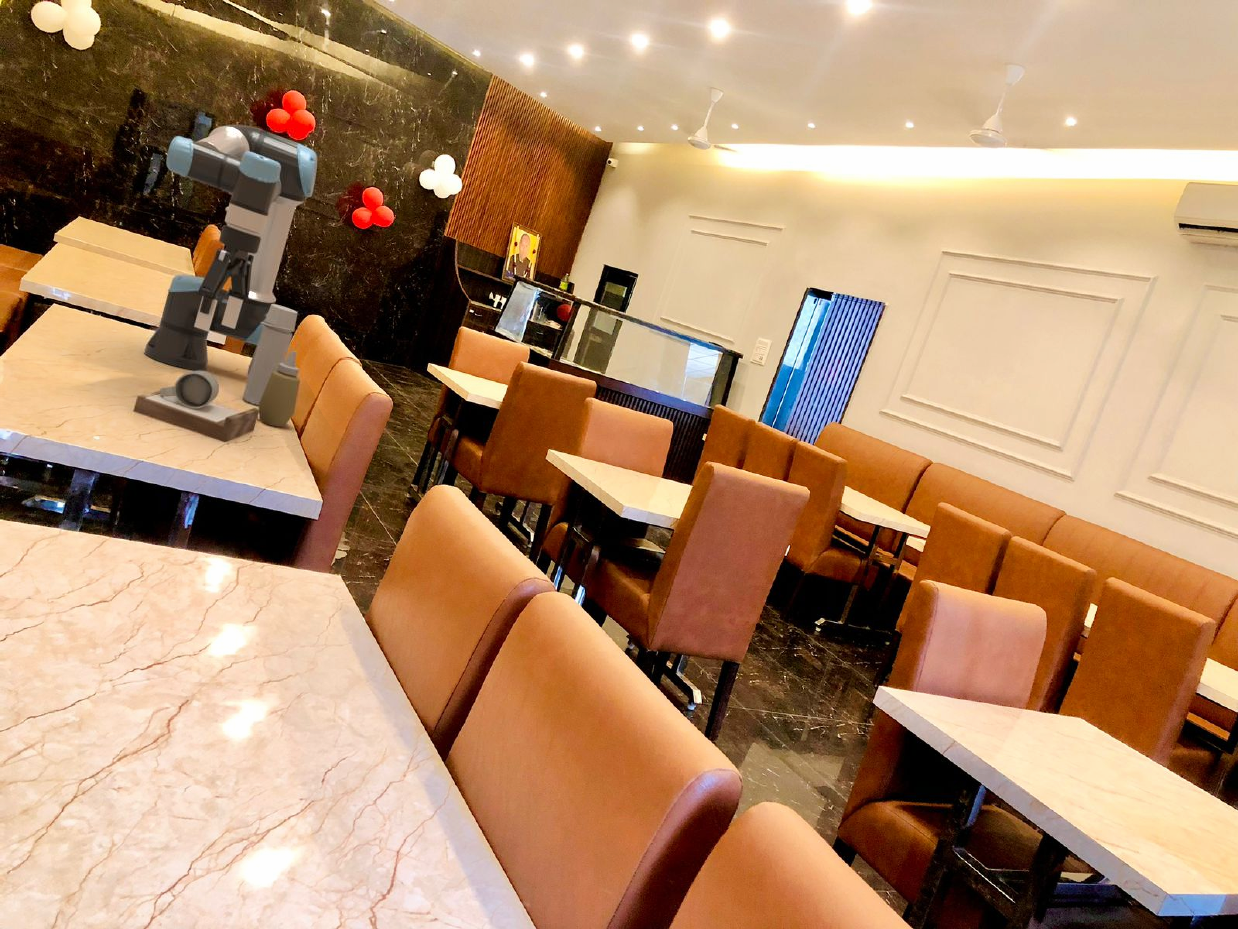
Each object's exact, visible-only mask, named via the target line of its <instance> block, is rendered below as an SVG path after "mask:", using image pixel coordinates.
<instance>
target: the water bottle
mask: <svg viewBox="0 0 1238 929" xmlns="http://www.w3.org/2000/svg"><path fill="white" fill-rule="evenodd" d="M297 318H298V311H296V310H294V309H291V308H289V307H286V306H284V305H283V306H282V305H279V304H276V303H275V304H271V307H270V309H269V312H268V314H267V317H266V319H265V322H261V324H264V326H263V330H262V333H261V336H260V340H259V342H258V345H256V347H255V350H254V353H253V355H252V357H251V360H250V363H249V364H248V369H247V372H246V378H247V382H246V385H245V388H244V391H243V394H242V398H243V400H244V401H245V402H247V403H248V402H249V404H251V405H254V404H256V405H255V406H257V405H259V402H260V400H261V398H262V395H263V393H264V390H265V388H266V386H267V383H268V381H269V378H270V376H271V374H272V372H274V371H278V370H277V368H278V365H279V363H284V362H285V361H286V359H287V357H286V356H287V353H288V351H289V347H290V345H291V340H292V338H293V333H294V332H295V331H296V330H295V329H296V328H295V327H296V323H297V322H296V321H297Z"/></svg>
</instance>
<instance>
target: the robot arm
mask: <svg viewBox="0 0 1238 929" xmlns="http://www.w3.org/2000/svg"><path fill="white" fill-rule="evenodd" d="M166 167H167V168H168V170H169V171H171V172H173V173H174V174H176V175H177V174H178V175H180V176H181V177H183V178H188V179H191V180H193V181H196V182H199V183H202V184H204V185H208V186H210V187H213V188H216V189H219V190H221V191H225V192H226V193H229V194H231V197H230V200H229V203H228V204H229V205H228V206H227V207H226V206H225V212H226V215H225V219H224V222H225V223H226V224H224V225H223V226H221V227H222V228H221V232H220V235H219V238H218V240H219V242H220V243H221V244H223V245H225V249H221V248H218V249H217V250H216V253H215V255H214V258H213V261H212V262H211V265H210V267H209V269H208V271H207V273H206V275H205V277H201V276H195V275H188V274H186V275H185V274H178V275H175V276H174V277H173V278H172V280H171V283H170V286H169V288H168V289H167V292H168V293H167V296H166V301H165V303H164V308H163V311H162V315H161V319H160V321H159V322H160V323H159V324H158V325H159V326H158V327H157V329H156V331H155V332H154V333H153V335H151V337H150V338H149V340H148V342H147V343H146V344H145V348H144V354H145V355H146V356H147V355H148V357H149V356H150V357H149V358H151V359H154V360H155V361H158V362H160V363H164V364H166V363H167V365H171V366H174V367H177V366H178V367H177V368H181V367H182V368H181V369H188V370H192V371H193V370H194V371H200V370H201V371H206V369H207V366H208V361H209V357H208V341H207V340H208V335H209V333H210V332H212V333H216V334H219V335H222V336H226V337H227V338H228V337H229V338H232V339H235V340H237V341H241V342H243V343H248V344H253V345H256V346H257V345H258V342H259V340H260V336H261V333H262V330H263V326H264V324H261V322H265V319H266V317H267V314H268V312H269V309H270V307H271V304H276V301H277V298H276V297H275V295H274V293H273V289H274V286H275V283H276V278H277V275H278V271H279V267H280V264H281V261H282V258H283V253H284V250H285V246H286V242H287V240H288V236H289V232H290V229H291V224H292V221H293V217H294V214H295V209H296V207H298V206H299V205H302V204H304V202H305V198H311V197H312V196H313V192H314V188H315V187H314V186H315V183H316V175H317V169H318V155H317V153H316V151H314V150H313V149H311V148H309V147H308V146H305V145H303V144H301V143H298V142H296V141H293V140H292V139H291V140H290V139H287V138H285V137H282V136H279V135H277V134H274V133H272V132H269V131H266V130H264V129H262V128H258V127H256V126H255V127H254V126H250V125H244V124H228V125H221V126H219V127H216V128H214V129H213V130H212V131H211V132H210V133H209V134H208V137H204V138H202V139H200V140H198V141H195V140H192V139H191V138H186V137H183V136H180V135H179V136H178V135H177V136H174V138H173V139H172V140H171V143H170V144H169V147H168V151H167V155H166ZM229 279H230V283H231V284H230V287H229V290H226V289H224V286H225V285H226V283H227V282H228V280H229Z"/></svg>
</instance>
